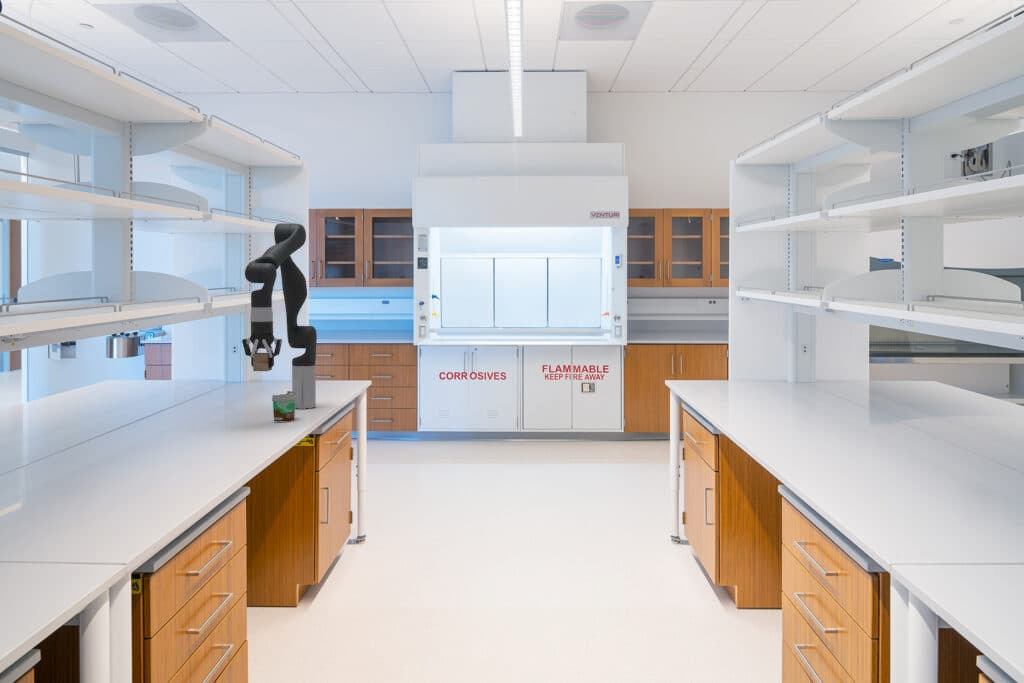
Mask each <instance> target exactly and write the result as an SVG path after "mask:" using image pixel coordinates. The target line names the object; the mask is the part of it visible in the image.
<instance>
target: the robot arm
mask: <svg viewBox="0 0 1024 683" xmlns="http://www.w3.org/2000/svg"><path fill="white" fill-rule="evenodd" d="M305 228H306V227H304V226H303V224H301V223H289V222H287V223H277V224H275V227H274V229H273V236H274V237H273V238H274V243H275V244H273V245H272V246H270V247H268V248H267V249H266V250H265V251H264V253H263V254H262V255H260V256H259V257H257V258H255V259H253V260H252V261H250V262H249V263H248V264H247V265H246V266H245V270H244V277H245V279H246V281H247V282H249V283H252V284H263V285H262V287H261V289H256V290H253V291H252V292H250V307H251V308H250V317H249V319H250V337H248V338H243V339H242V340H241V342H242V345H243V350H244V353H245V354H244V355H245V356H247V357H250V362H251V363H250V364H251V367H253V354H255V353H259V352H258V351H259V350H261V349H264V350H265V351H266V353H268V355H269V368H272V369H273V367H274V366H275V357H276V356H279V355H280V353H281V348H282V344H283V343H282V342H283V339H282V338H275V336H274V313H273V300H272V299H273V291H274V287H275V283H276V279H277V275H278V274H277V270H278V269H279V268H280V275H281V276H280V278H281V286H282V287H281V288H282V295H283V300H284V307H285V317H286V318H285V320H286V334H287V335H286V336H287V343H288V345H289V347H290V348H291V349H302V350H303V349H305V351H304V353H302V354H301V355H299V356H296V357H293V358H292V360H291V386H292V388H291V391H293V392H296V394H297V399H296V401H295V409H296V408H298V409H299V410H306V408H308V409H314V408H316V407H317V403H316V400H317V399H316V395H317V393H316V391H317V390H316V388H317V387H316V381H317V379H316V378H317V377H316V373H317V372H316V359H317V339H318V336H317V328H315V326H312V325H298V315H299V313H300V311H301V309H302V307H303V305H304V304H305V301H306V300H307V297H308V287H307V279H306V277H305V275H304V274H303V272H302V271H301V269H300V268H299V267H298V265H296V263H295V261H294V260H293V258H292V254H294V253H295V252H296V251H298V250H299V249H301V248H302V247H303V246H304V245H305V243H306V240H307V232H306V229H305ZM273 343H274V344H275V347H274V348H275V349H274V350H273V346H272V344H273ZM250 344H252V345H253V347H252V348H251V347H250ZM313 407H314V408H313Z"/></svg>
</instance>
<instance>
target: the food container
mask: <svg viewBox="0 0 1024 683" xmlns="http://www.w3.org/2000/svg"><path fill="white" fill-rule="evenodd" d="M296 399H297V394H296V392H293V391H292V390H290V391H289V390H288V391H287V392H286V393H284V394H283V393H282V394H273V395H272V397H271V402H272V408H273V410H272V412H273V422H274V421H288V422H292V421H291V420H293V421H294V420H295V413H296V408H295V401H296Z"/></svg>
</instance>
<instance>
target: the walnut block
mask: <svg viewBox="0 0 1024 683" xmlns="http://www.w3.org/2000/svg"><path fill="white" fill-rule="evenodd" d="M272 369H273V367H272V368H269V355H268V353H267V352H257V353H255V354H253V366H252V371H253V372H270V371H272Z"/></svg>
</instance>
